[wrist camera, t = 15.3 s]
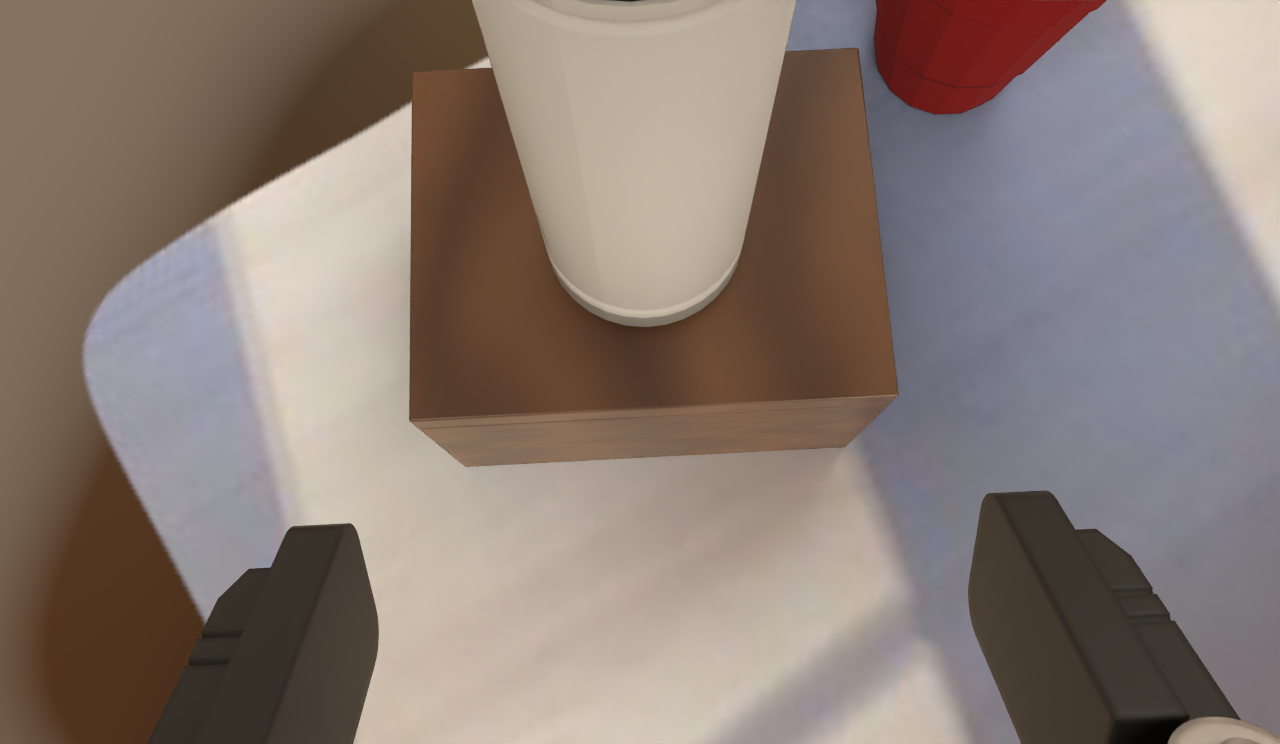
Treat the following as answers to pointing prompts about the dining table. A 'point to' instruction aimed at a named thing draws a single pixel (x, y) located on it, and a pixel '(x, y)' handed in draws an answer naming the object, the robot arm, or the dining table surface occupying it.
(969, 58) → the plastic cup
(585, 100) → the travel mug
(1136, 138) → the dining table surface
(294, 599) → the robot arm
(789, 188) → the wooden box
